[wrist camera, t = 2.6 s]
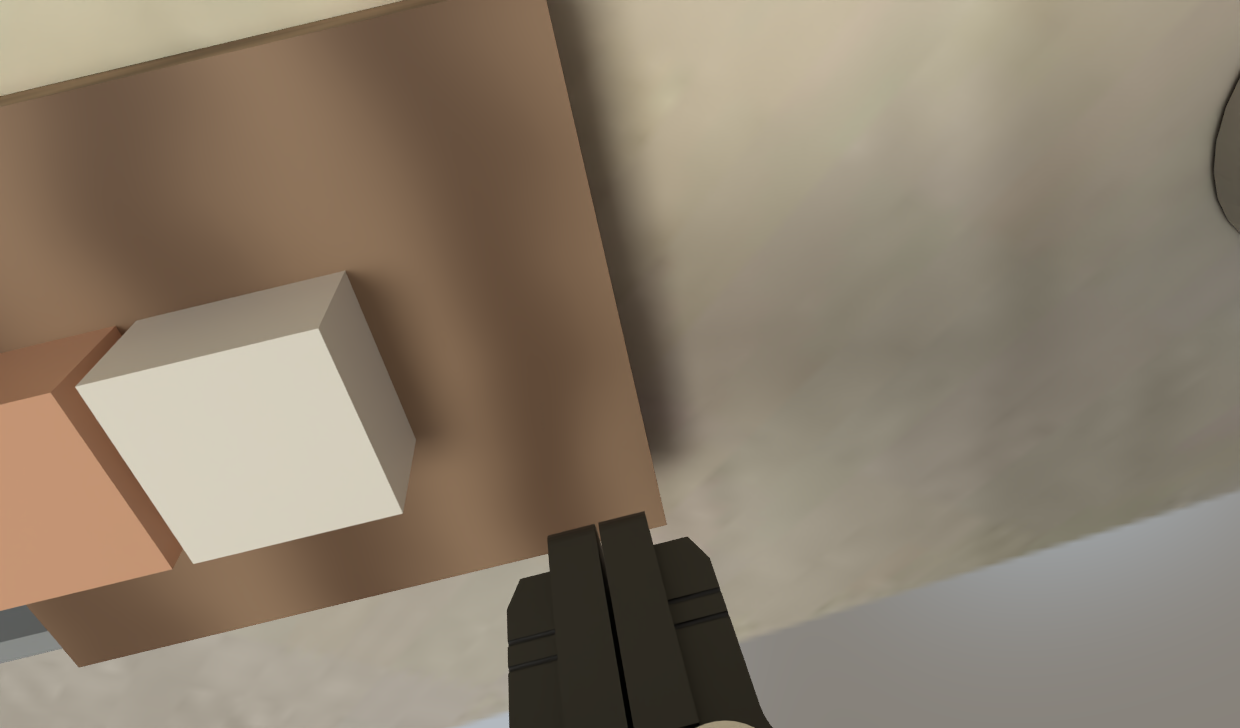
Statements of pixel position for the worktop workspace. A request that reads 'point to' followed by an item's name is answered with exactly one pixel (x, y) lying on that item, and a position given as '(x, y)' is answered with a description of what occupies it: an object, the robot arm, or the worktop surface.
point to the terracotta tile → (67, 482)
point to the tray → (23, 635)
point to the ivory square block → (257, 417)
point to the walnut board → (376, 267)
